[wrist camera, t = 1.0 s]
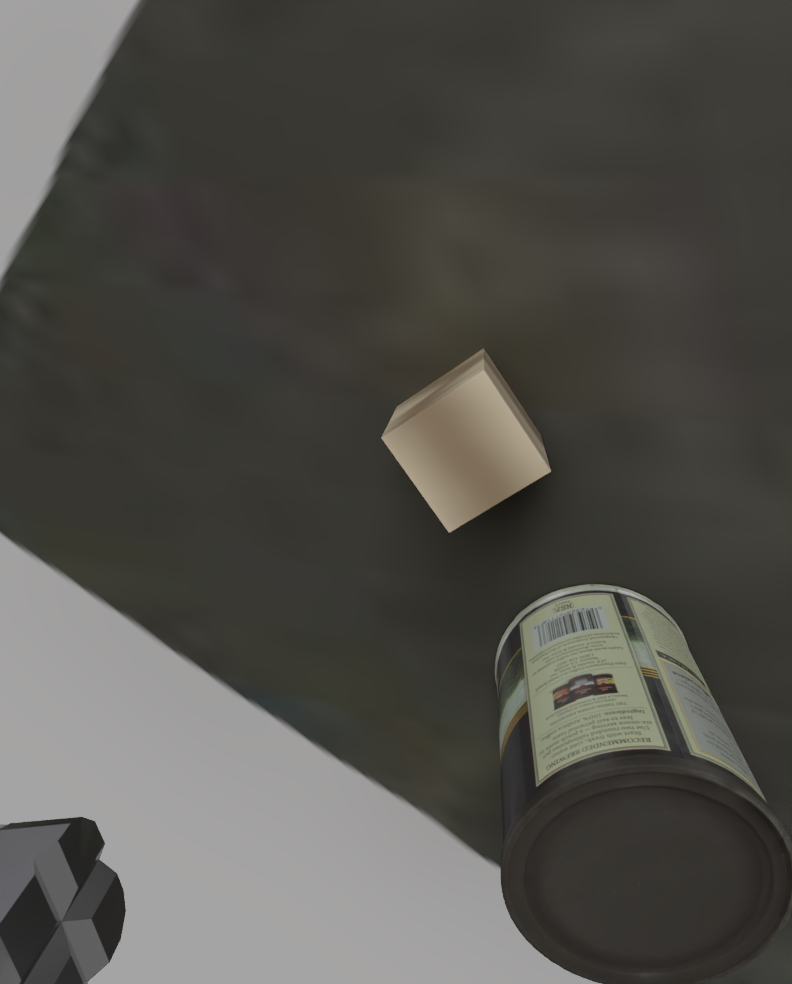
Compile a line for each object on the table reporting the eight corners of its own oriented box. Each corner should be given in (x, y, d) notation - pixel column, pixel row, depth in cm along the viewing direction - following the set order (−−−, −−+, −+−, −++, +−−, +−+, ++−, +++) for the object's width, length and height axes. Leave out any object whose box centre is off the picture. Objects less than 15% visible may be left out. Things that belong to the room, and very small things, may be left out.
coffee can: (589, 781, 42) (638, 1033, 29) (455, 668, 40) (441, 879, 27) (735, 670, 39) (867, 896, 25) (595, 543, 37) (657, 712, 24)
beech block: (483, 348, 35) (483, 369, 29) (540, 434, 36) (551, 471, 30) (397, 406, 36) (381, 437, 30) (454, 487, 37) (449, 532, 31)
